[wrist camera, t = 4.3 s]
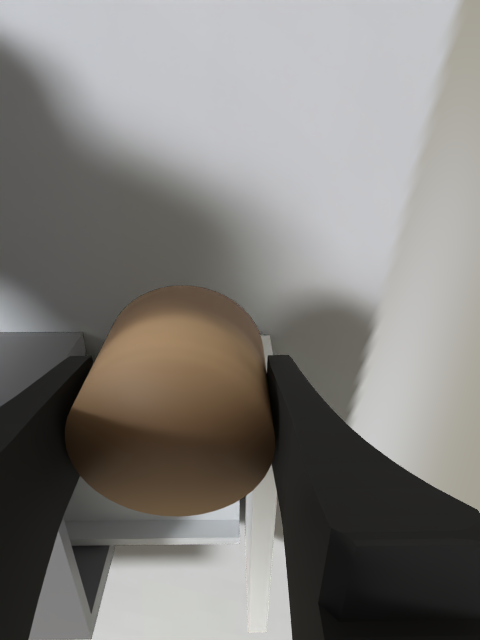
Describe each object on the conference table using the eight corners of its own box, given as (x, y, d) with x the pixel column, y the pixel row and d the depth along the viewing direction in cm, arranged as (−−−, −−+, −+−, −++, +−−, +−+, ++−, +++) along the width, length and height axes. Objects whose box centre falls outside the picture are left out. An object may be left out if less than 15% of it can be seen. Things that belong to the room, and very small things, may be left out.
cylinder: (97, 285, 12) (44, 362, 9) (266, 285, 12) (281, 361, 9) (118, 416, 15) (83, 517, 11) (260, 415, 15) (270, 515, 11)
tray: (-9, 335, 21) (-92, 419, 15) (269, 335, 21) (283, 418, 16) (53, 532, 28) (10, 636, 22) (259, 530, 28) (266, 632, 23)
